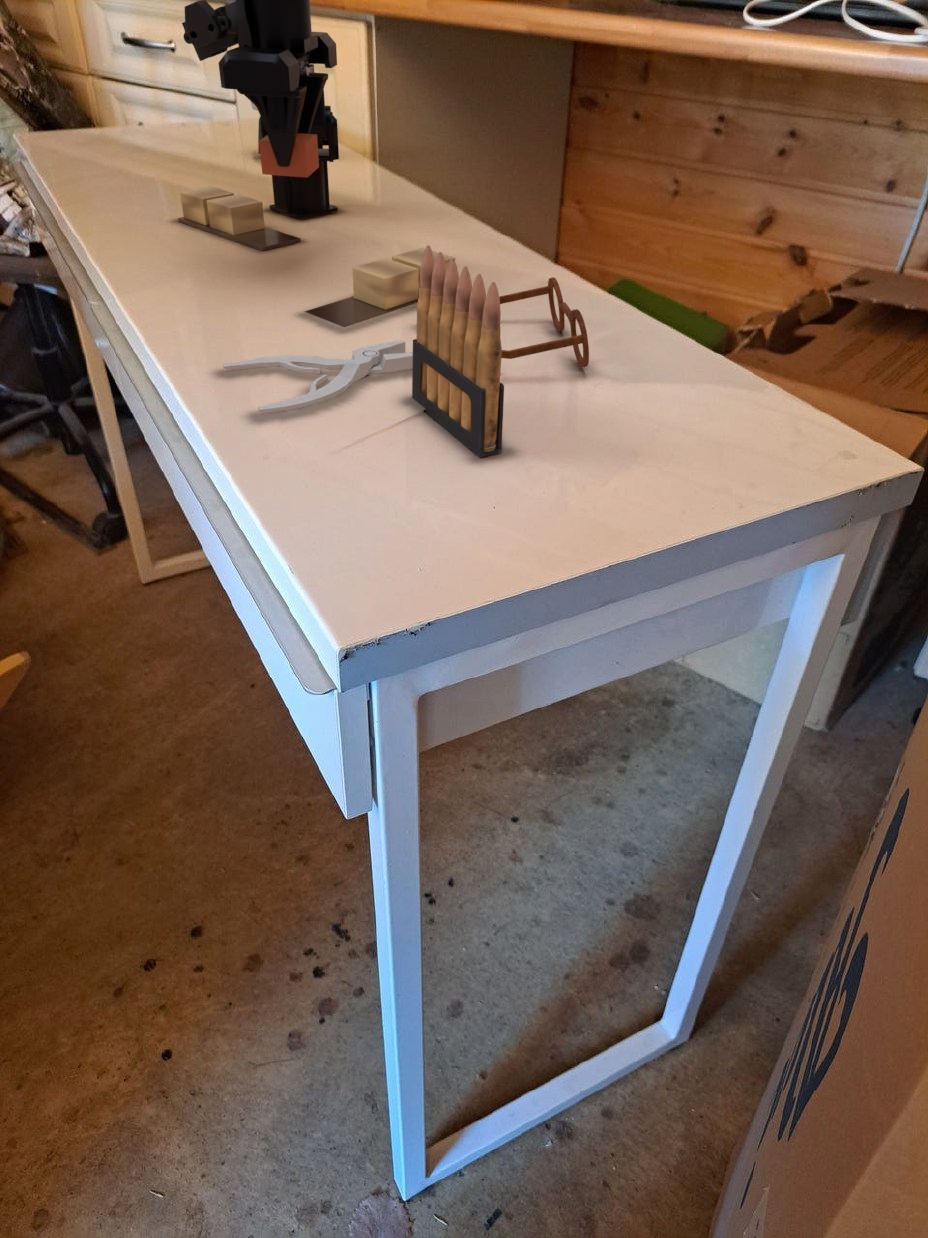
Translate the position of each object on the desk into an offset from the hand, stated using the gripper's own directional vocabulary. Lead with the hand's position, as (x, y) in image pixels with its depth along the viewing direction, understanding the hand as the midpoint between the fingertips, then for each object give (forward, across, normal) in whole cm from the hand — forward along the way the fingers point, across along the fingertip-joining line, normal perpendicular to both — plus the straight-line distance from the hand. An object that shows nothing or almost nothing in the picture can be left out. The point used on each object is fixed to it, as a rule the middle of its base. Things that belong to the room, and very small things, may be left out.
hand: (290, 160), depth 88 cm
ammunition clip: (+11, +34, +21) cm, 41 cm away
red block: (+1, 0, 0) cm, 1 cm away
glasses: (+11, +18, +23) cm, 31 cm away
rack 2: (+11, +8, +11) cm, 17 cm away
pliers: (+11, +27, +10) cm, 31 cm away
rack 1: (+11, -13, -11) cm, 20 cm away
